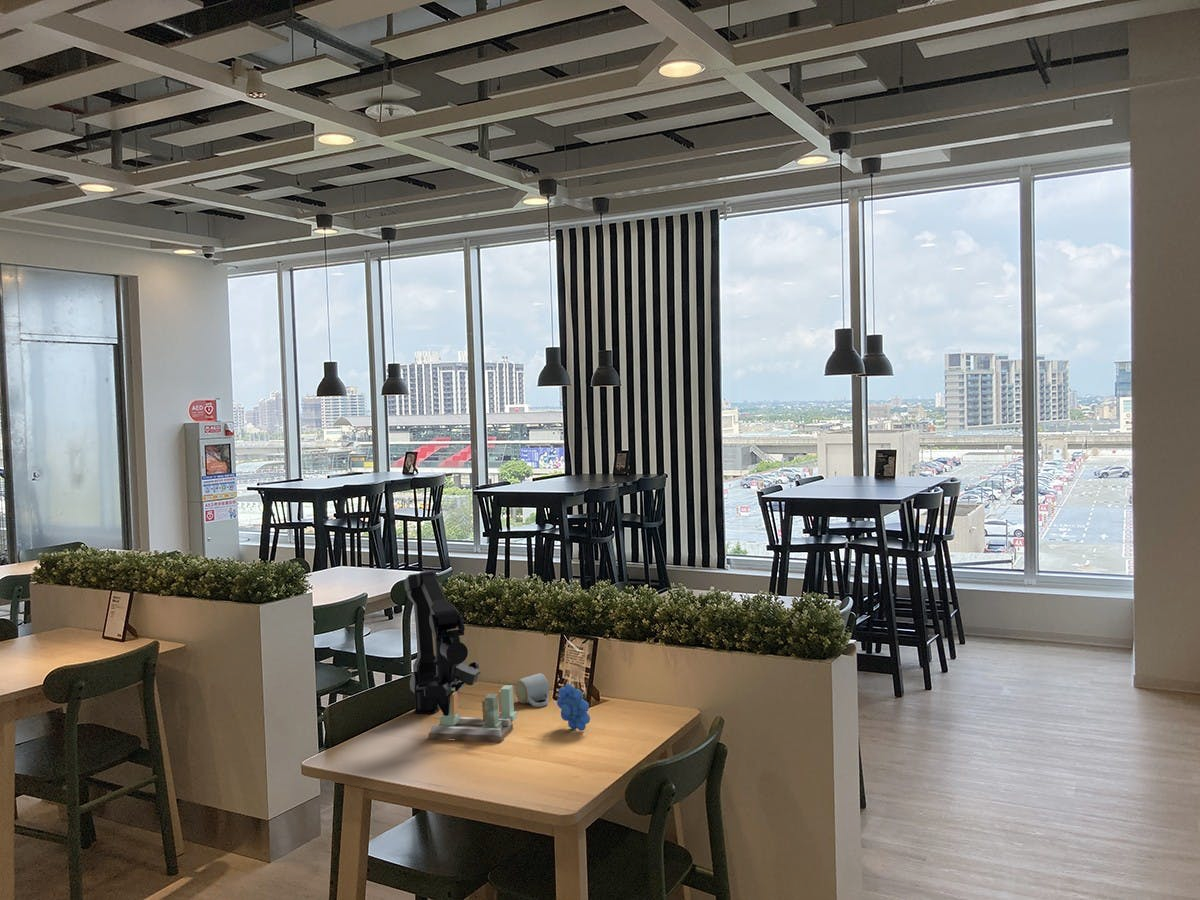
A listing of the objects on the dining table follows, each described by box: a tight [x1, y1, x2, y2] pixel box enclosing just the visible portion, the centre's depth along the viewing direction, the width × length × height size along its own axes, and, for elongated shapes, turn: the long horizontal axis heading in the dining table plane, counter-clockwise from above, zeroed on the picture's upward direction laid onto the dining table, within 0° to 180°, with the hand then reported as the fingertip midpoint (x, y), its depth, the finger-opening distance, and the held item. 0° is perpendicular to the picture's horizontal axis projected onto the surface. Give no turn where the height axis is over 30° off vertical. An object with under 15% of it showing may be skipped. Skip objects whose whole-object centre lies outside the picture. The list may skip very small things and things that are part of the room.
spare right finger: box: [497, 684, 518, 722], centre depth 268 cm, size 4×4×9 cm
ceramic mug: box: [514, 672, 550, 708], centre depth 283 cm, size 11×8×8 cm
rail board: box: [428, 693, 514, 743], centre depth 257 cm, size 20×10×10 cm, turn 77°
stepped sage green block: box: [439, 687, 461, 725], centre depth 258 cm, size 4×4×9 cm
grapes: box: [556, 683, 591, 732], centre depth 257 cm, size 12×7×12 cm, turn 46°
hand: (449, 713), depth 258 cm, fingers closed on stepped sage green block, 4 cm apart
